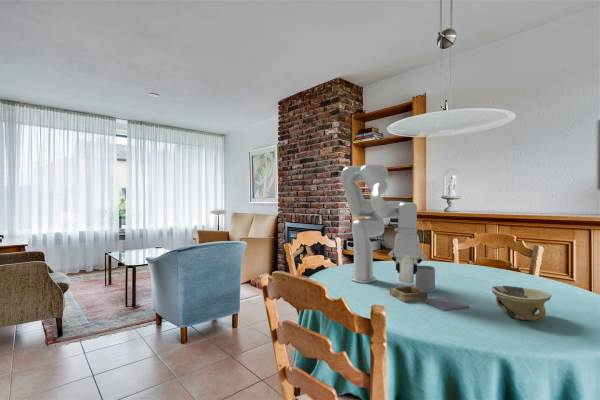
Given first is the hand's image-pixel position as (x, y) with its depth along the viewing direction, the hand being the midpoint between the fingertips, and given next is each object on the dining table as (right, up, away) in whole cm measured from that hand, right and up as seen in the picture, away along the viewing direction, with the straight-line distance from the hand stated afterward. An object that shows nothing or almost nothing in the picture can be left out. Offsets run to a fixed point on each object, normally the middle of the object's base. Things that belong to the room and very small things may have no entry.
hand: (406, 272), depth 137 cm
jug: (0, -4, -1) cm, 4 cm away
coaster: (+12, -10, -10) cm, 19 cm away
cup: (+12, -10, +11) cm, 19 cm away
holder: (+1, -10, -1) cm, 10 cm away
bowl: (+32, -11, -24) cm, 42 cm away
